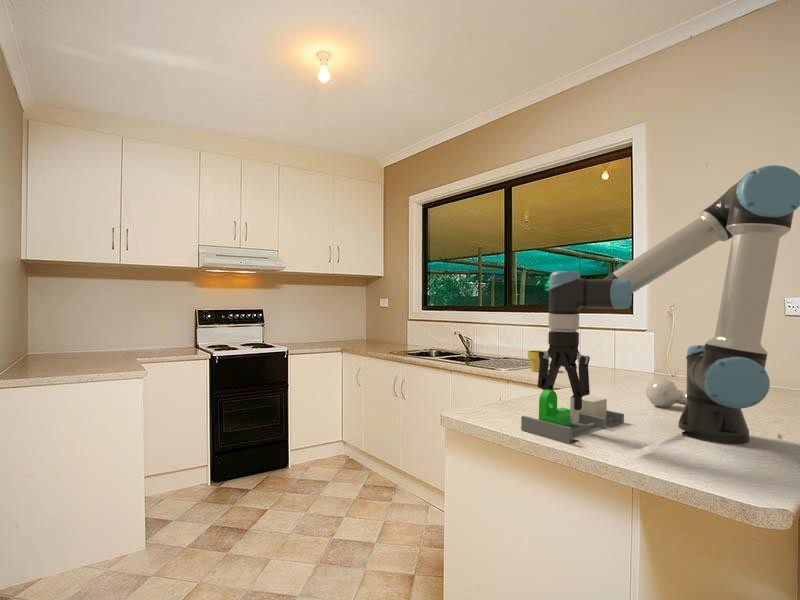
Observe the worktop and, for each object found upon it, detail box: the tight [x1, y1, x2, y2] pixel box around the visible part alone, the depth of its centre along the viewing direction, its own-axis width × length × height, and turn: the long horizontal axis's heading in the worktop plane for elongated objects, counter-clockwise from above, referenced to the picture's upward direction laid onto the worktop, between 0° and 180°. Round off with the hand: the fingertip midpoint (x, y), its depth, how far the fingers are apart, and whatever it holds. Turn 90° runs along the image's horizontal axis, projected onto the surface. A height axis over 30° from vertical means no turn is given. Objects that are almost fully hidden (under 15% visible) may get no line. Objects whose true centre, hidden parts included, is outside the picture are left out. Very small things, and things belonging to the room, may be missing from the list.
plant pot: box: [527, 350, 542, 373], centre depth 226 cm, size 10×10×10 cm
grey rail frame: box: [520, 407, 625, 445], centre depth 122 cm, size 14×26×4 cm, turn 127°
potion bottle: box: [645, 378, 687, 409], centre depth 149 cm, size 9×10×15 cm
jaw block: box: [579, 395, 608, 419], centre depth 126 cm, size 6×7×6 cm
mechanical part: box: [538, 389, 571, 426], centre depth 118 cm, size 12×6×8 cm, turn 132°
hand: (562, 419), depth 119 cm, fingers closed on mechanical part, 6 cm apart
